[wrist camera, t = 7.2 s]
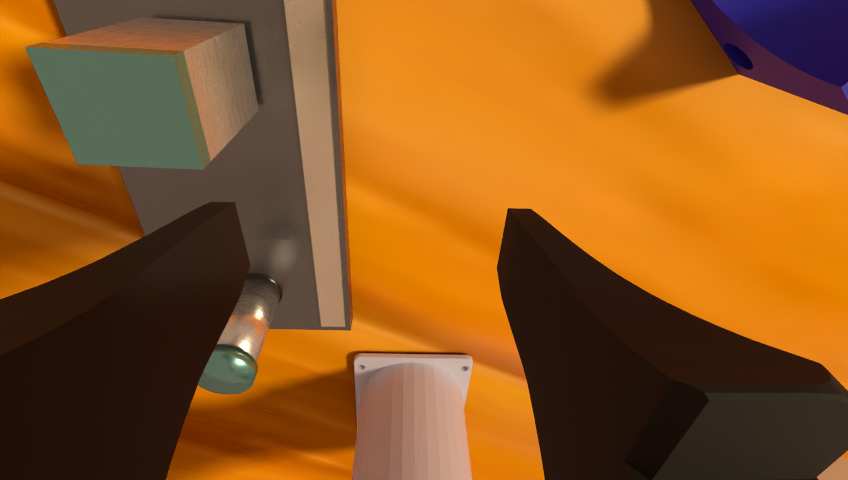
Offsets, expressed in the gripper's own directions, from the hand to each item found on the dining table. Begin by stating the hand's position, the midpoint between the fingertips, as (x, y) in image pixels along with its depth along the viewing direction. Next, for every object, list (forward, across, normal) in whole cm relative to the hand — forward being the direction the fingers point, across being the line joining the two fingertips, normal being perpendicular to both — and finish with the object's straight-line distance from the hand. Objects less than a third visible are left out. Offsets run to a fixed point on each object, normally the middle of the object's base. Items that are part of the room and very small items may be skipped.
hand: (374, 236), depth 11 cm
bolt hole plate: (+9, +7, +4) cm, 12 cm away
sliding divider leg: (+8, +7, -2) cm, 11 cm away
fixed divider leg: (+9, +7, +10) cm, 15 cm away
